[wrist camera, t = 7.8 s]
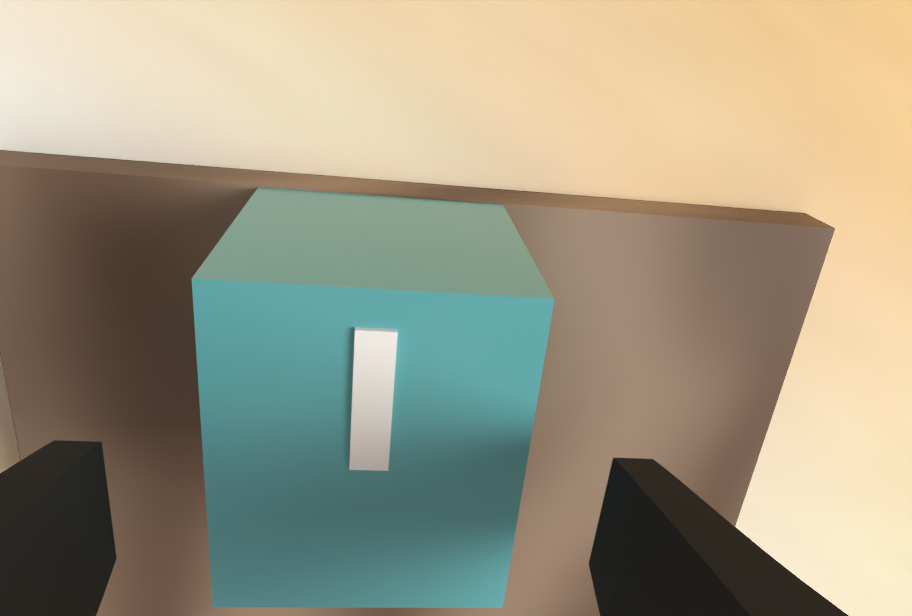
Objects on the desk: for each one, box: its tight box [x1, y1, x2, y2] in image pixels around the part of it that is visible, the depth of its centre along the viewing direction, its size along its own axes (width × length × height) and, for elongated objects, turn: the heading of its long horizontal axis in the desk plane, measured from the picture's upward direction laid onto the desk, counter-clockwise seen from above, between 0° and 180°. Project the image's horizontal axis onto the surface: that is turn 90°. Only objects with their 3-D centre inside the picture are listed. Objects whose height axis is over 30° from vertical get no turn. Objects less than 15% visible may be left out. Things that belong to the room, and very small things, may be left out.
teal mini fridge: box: [192, 187, 554, 608], centre depth 13 cm, size 5×6×5 cm
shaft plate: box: [0, 150, 835, 616], centre depth 16 cm, size 18×16×4 cm
